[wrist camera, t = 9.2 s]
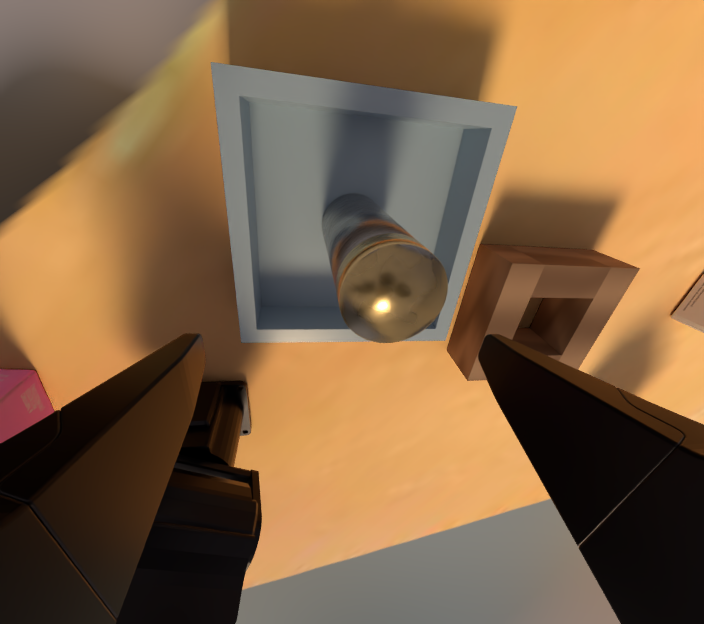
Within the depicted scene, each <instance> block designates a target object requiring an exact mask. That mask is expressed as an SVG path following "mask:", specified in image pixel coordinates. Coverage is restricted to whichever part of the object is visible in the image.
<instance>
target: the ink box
mask: <svg viewBox="0 0 704 624" xmlns="http://www.w3.org/2000/svg"><path fill="white" fill-rule="evenodd" d="M671 318H673V319H675V320H677V321H679V322H681V323H683V324H685V325H687V326H690V327H692V328H694V329H696V330H698V331H701V332H703V333H704V274H703V275H702V277H701V278H700V279H699V280H698V282H697V283H696V284H695V286H694V287H693V288H692V290H691V291H690V292H689V294H688V295H687V296H686V298H685V299H684V300H683V302H682V303H681V304H680V305H679V307H678V308H677V309H676V310H675V312H674V313H673V314H672V315H671Z"/></svg>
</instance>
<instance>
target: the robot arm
mask: <svg viewBox="0 0 704 624" xmlns="http://www.w3.org/2000/svg"><path fill="white" fill-rule="evenodd" d="M478 360H479V363H480V365H481V367H482V369H483V372H484V374H485V376H486V379H487V381H488V383H489V386H490V388H491V390H492V392H493V395H494V397H495V399H496V401H497V403H498V405H499V406H500V408H501V410H502V412H503V413H504V415H505V417H506V419H507V421H508V422H509V424H510V426H511V428H512V430H513V431H514V433H515V435H516V437H517V438H518V440H519V442H520V444H521V446H522V447H523V449H524V451H525V453H526V455H527V456H528V458H529V460H530V462H531V464H532V465H533V467H534V469H535V471H536V472H537V474H538V476H539V478H540V480H541V481H542V483H543V485H544V487H545V489H546V490H547V492H548V494H549V496H550V497H551V499H552V501H553V503H554V505H555V506H556V508H557V510H558V512H559V514H560V515H561V517H562V519H563V521H564V522H565V524H566V526H567V528H568V530H569V531H570V533H571V535H572V537H573V538H574V540H575V542H576V544H577V545H578V546H579V550H580V551H581V553H582V555H583V557H584V559H585V560H586V562H587V564H588V566H589V568H590V569H591V571H592V573H593V575H594V577H595V578H596V580H597V582H598V584H599V586H600V587H601V589H602V591H603V593H604V594H605V596H606V598H607V600H608V601H609V603H610V605H611V607H612V609H613V610H614V612H615V614H616V616H617V618H618V620H619V621H620V623H621V624H704V425H703V424H701V423H698V422H696V421H694V420H691V419H689V418H686V417H684V416H681V415H679V414H677V413H674V412H672V411H670V410H667V409H665V408H663V407H660V406H658V405H655V404H653V403H651V402H649V401H646V400H644V399H642V398H640V397H637V396H635V395H633V394H631V393H628V392H626V391H624V390H622V389H620V388H616V387H615V386H613V385H611V384H608V383H606V382H604V381H602V380H600V379H597V378H595V377H593V376H591V375H588V374H586V373H584V372H582V371H580V370H577V369H575V368H573V367H571V366H569V365H566V364H564V363H562V362H560V361H558V360H555V359H553V358H551V357H549V356H547V355H544V354H542V353H540V352H538V351H535V350H533V349H531V348H529V347H527V346H524V345H522V344H520V343H518V342H516V341H513V340H511V339H509V338H507V337H505V336H502V335H500V334H488V335H486V336H485V338H484V340H483V342H482V345H481V348H480V350H479V353H478ZM205 361H206V359H205V351H204V345H203V340H202V336H201V335H200V334H183V335H182V336H180V337H178V338H177V339H175V340H173V341H172V342H170V343H168V344H167V345H165V346H163V347H162V348H160V349H158V350H157V351H155V352H153V353H152V354H150V355H148V356H147V357H145V358H143V359H142V360H140V361H138V362H137V363H135V364H133V365H132V366H130V367H128V368H127V369H125V370H123V371H122V372H120V373H118V374H117V375H115V376H113V377H112V378H110V379H108V380H107V381H105V382H103V383H102V384H100V385H99V386H97V387H95V388H94V389H92V390H90V391H89V392H87V393H85V394H84V395H82V396H80V397H79V398H77V399H75V400H74V401H72V402H70V403H69V404H67V405H65V406H64V407H62V408H61V411H60V410H57V411H55V412H53V413H52V414H50V415H48V416H47V417H45V418H43V419H42V420H40V421H38V422H37V423H35V424H33V425H32V426H30V427H28V428H26V429H25V430H23V431H21V432H20V433H18V434H16V435H14V436H13V437H11V438H9V439H8V440H6V441H4V442H2V443H0V624H235V623H236V620H237V615H238V610H239V604H240V597H241V592H242V586H243V581H244V576H245V572H246V570H247V569H248V567H249V565H250V564H251V561H252V559H253V557H254V554H255V551H256V548H257V545H258V541H259V536H260V531H261V523H262V513H261V500H260V486H259V473H258V471H255V470H251V471H249V470H245V469H241V468H236V467H234V463H235V458H236V452H237V447H238V442H239V437H240V436H244V435H249V434H250V433H251V420H250V410H249V401H248V392H247V384H246V383H245V382H243V381H225V382H201V380H202V376H203V372H204V367H205ZM239 386H240V387H241V388H240V387H239Z"/></svg>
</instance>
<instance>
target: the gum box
mask: <svg viewBox="0 0 704 624" xmlns="http://www.w3.org/2000/svg"><path fill="white" fill-rule="evenodd" d="M53 412H54V410H53V408H52V405H51V403H50V400H49V398H48V396H47V395H46V393H45V391H44V389H43V386H42V384H41V382H40V380H39V377H38V375H37V373H36V371H34V370H13V369H0V443H2V442H4V441H6V440H8V439H9V438H11V437H13V436H14V435H16V434H18V433H20V432H21V431H23V430H25V429H26V428H28V427H30V426H32V425H33V424H35V423H37V422H38V421H40V420H42V419H43V418H45V417H47V416H48V415H50V414H52V413H53Z"/></svg>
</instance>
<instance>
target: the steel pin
mask: <svg viewBox="0 0 704 624" xmlns="http://www.w3.org/2000/svg"><path fill="white" fill-rule="evenodd" d="M322 233H323V237H324V241H325V246H326V250H327V254H328V258H329V263H330V267H331V271H332V275H333V280H334V284H335V288H336V294H337V299H338V303H339V307H340V311H341V315H342V317H343V319H344V321H345V323H346V324H347V326H348V327H349V328H350V329H351V330H352V331H353V332H354V333H355V334H357V335H358V336H360V337H362V338H364V339H366V340H369V341H372V342H378V343H393V342H399V341H403V340H406V339H408V338H411V337H413V336H415V335H417V334H419V333H420V332H422V331H423V330H424V329H426V328H427V327H428V326H429V325H430V324H431V323H432V322H433V321H434V320H435V319H436V317H437V316H438V315H439V313H440V312H441V310H442V308H443V306H444V303H445V300H446V297H447V292H448V280H447V275H446V272H445V269H444V267H443V265H442V264H441V262H440V261H439V260H438V258H437V257H436V256H435V255H434V254H432V253H431V252H430V251H429V250H428V249H427V248H426V247H425V246H423V245H422V244H421V243H420V242H419V241H417V240H416V239H415V238H414V237H413V236H412V235H410V234H409V233H408V232H407V231H406V230H405V229H404V228H403V227H402V226H401V225H399V224H398V223H397V222H396V221H395V220H394V219H393V218H392V217H391V216H389V215H388V214H387V213H386V212H385V211H384V210H383V209H382V208H381V207H379V206H378V205H377V204H376V203H375V202H374V201H373V200H372V199H370V198H369V197H367V196H365V195H362V194H357V193H350V194H345V195H342V196H340V197H338V198H336V199H335V200H334V201H332V202H331V203H330V205H329V206H328V207H327V209H326V211H325V212H324V215H323V219H322Z"/></svg>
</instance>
